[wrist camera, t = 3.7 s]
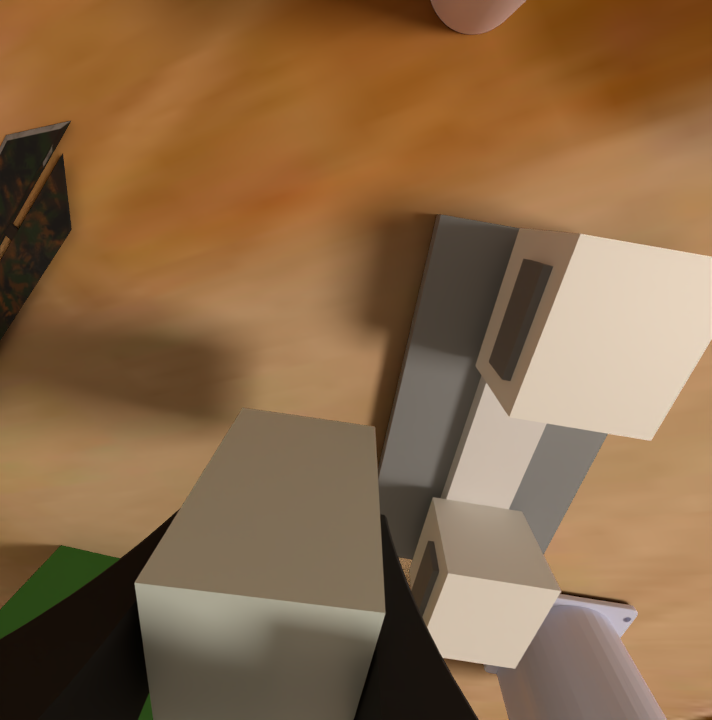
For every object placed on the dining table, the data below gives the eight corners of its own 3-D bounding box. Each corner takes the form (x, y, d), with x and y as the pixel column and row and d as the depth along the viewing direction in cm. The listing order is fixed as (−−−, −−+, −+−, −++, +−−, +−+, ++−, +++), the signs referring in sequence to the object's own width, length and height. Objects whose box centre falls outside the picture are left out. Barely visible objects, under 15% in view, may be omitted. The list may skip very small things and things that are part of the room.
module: (349, 549, 14) (340, 764, 9) (234, 535, 14) (150, 745, 8) (375, 426, 12) (385, 613, 6) (238, 406, 12) (125, 581, 6)
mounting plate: (524, 563, 23) (573, 677, 18) (362, 537, 23) (357, 644, 17) (681, 257, 15) (860, 282, 10) (437, 214, 15) (474, 215, 10)
